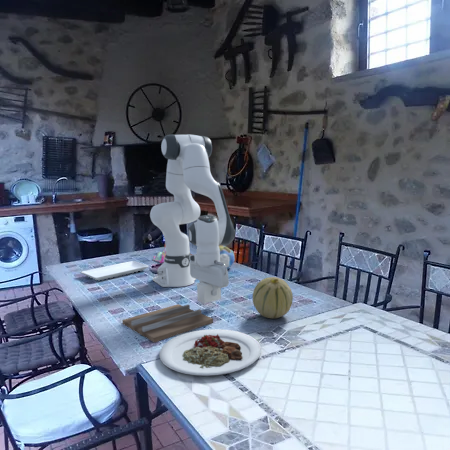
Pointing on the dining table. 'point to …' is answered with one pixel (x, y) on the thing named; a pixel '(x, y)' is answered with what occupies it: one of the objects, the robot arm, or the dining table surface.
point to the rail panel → (167, 322)
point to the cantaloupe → (272, 297)
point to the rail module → (207, 293)
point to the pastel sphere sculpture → (161, 256)
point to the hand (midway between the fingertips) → (209, 293)
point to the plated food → (210, 352)
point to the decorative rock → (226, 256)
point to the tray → (115, 270)
